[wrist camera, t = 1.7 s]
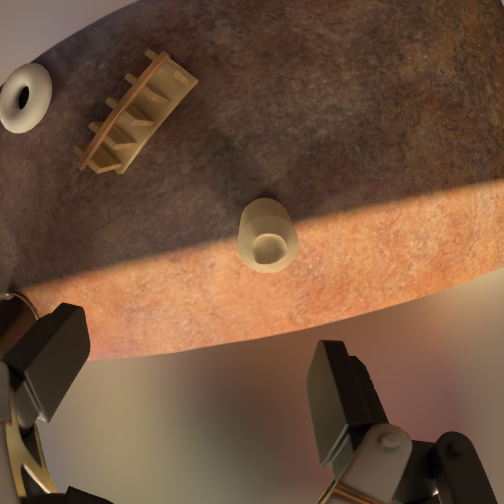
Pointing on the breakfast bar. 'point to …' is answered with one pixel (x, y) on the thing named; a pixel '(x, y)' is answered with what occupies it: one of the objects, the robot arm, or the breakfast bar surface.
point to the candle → (267, 236)
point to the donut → (38, 101)
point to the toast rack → (136, 115)
